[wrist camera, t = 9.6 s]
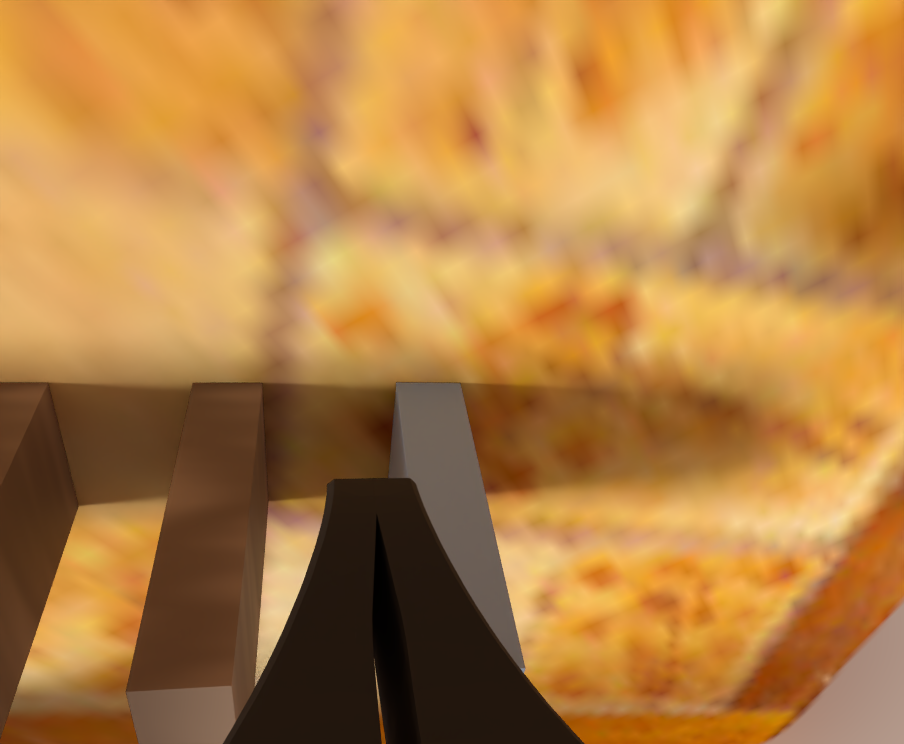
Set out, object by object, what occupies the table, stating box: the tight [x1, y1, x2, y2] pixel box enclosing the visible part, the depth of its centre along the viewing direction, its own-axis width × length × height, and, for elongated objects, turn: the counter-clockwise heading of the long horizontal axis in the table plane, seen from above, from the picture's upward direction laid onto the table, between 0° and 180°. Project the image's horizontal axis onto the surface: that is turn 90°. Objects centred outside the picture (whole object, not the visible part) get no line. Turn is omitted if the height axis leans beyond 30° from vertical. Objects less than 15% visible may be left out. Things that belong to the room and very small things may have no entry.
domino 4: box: [126, 383, 268, 744], centre depth 21 cm, size 2×5×10 cm, turn 174°
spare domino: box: [388, 382, 525, 673], centre depth 22 cm, size 2×5×10 cm, turn 174°
